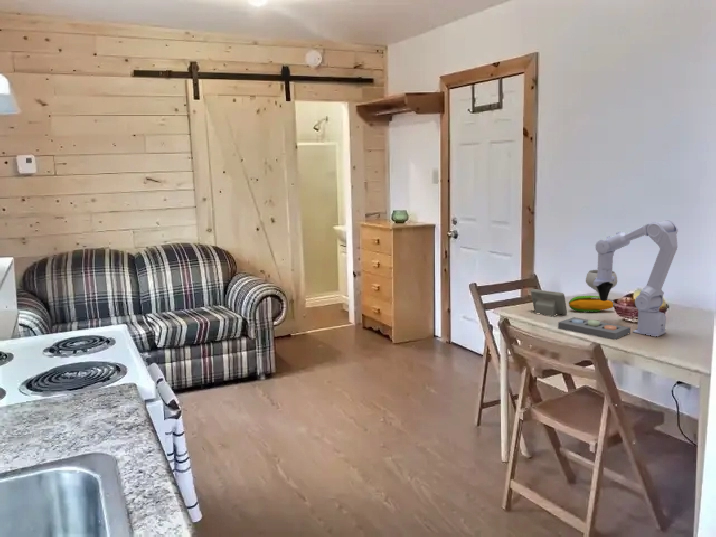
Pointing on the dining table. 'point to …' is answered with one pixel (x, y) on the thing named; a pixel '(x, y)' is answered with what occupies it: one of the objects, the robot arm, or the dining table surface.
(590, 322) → the button sage
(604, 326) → the button terracotta
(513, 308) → the dining table surface
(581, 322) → the button slate
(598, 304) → the corn
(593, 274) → the chalice
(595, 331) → the button panel
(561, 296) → the digital clock
